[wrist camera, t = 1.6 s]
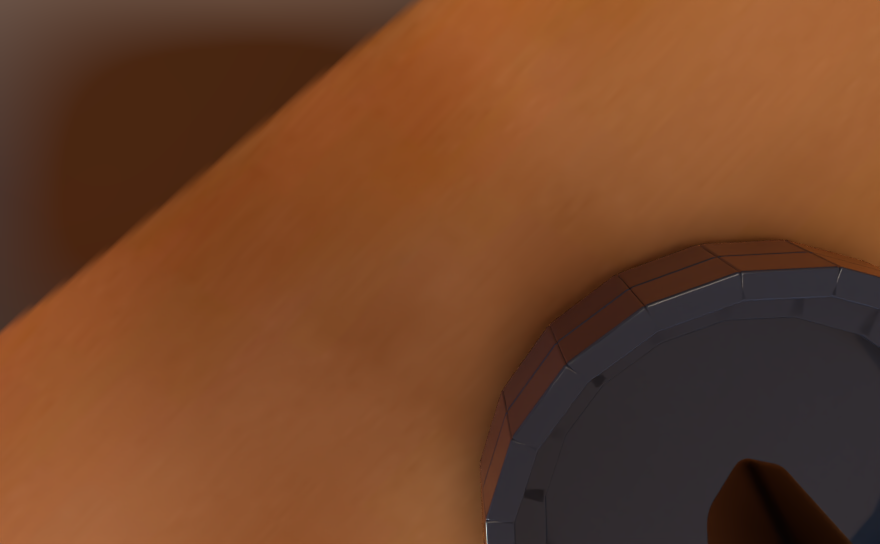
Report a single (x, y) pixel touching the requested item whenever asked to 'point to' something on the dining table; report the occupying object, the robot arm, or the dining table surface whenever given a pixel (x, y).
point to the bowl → (692, 398)
